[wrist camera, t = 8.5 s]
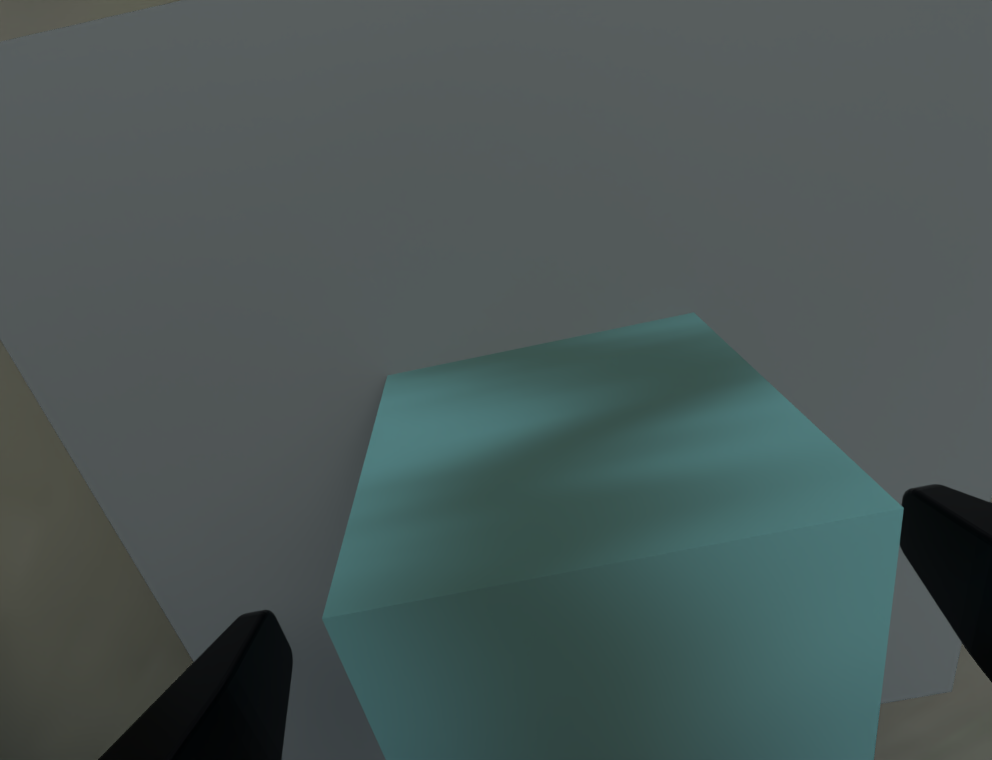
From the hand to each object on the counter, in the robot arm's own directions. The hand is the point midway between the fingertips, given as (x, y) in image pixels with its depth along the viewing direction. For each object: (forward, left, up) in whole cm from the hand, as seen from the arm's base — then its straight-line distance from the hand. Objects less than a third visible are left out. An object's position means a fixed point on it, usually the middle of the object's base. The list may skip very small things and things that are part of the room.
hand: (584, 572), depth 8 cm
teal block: (0, 0, -2) cm, 3 cm away
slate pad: (0, 0, -3) cm, 3 cm away
